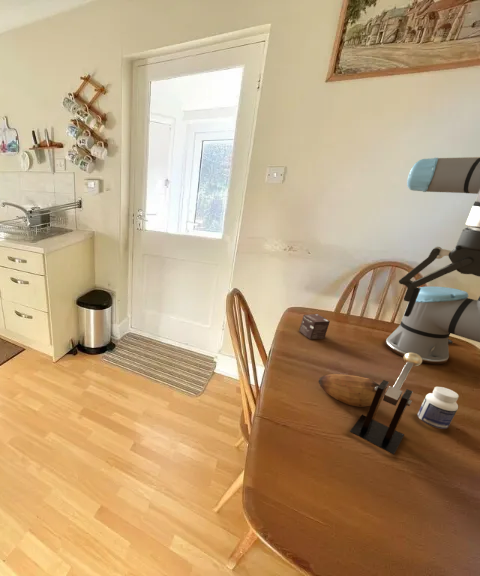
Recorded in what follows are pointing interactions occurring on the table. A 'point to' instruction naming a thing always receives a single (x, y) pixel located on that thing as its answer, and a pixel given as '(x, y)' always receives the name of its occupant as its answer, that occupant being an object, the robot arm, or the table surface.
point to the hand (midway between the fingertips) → (448, 325)
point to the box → (314, 326)
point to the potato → (349, 388)
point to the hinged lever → (402, 378)
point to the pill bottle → (439, 407)
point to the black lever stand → (379, 432)
